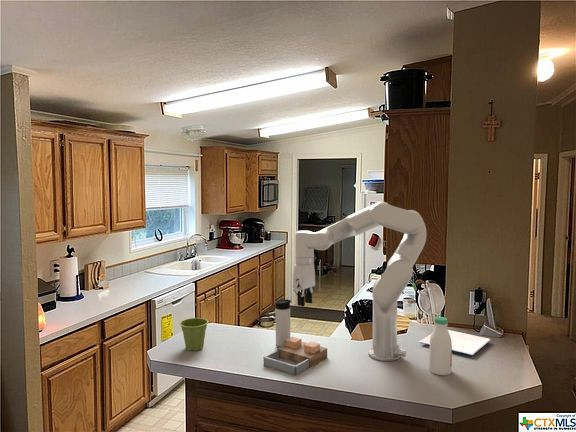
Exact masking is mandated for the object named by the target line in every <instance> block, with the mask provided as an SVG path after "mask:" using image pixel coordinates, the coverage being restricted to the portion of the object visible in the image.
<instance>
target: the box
mask: <svg viewBox="0 0 576 432" xmlns="http://www.w3.org/2000/svg"><path fill="white" fill-rule="evenodd" d="M263 367H265V368H269V369H272V370H276V371H279V372H282V373H285V374H288V375H291V376H294V377H297V376H298V375H300V374H301V373H302V374H303V372H305V371H307V370H308V369H310V368H309V359H307V360H305V361H303V362H301V363H296V362H292V361H289V360H286V359H282V358H279V350H277V349H276V350H275V351H273V352H270V353H268V354H266V355H265V356H263Z"/></svg>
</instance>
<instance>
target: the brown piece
mask: <svg viewBox="0 0 576 432" xmlns="http://www.w3.org/2000/svg"><path fill="white" fill-rule="evenodd" d="M307 343H308V342H304V341H301V346H299V347H297V348H291V347H288V346H286V344H285V345H283V346H281V347H279V348H278V347H276V351H277V350H279V358H282V359H286V360H289V361H292V362H296V363H301V362H303V361H305V360H307V359H309V369H311V368H314V367H315V366H316V365H318V364H320V363H322V362H323V361H324V360H326V359H328V347H324V346H320V350H319V351H318V352H316V353H314V354H313V353H309V352H306V351H304V345H305V344H307Z"/></svg>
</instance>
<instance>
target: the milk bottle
mask: <svg viewBox="0 0 576 432" xmlns="http://www.w3.org/2000/svg"><path fill="white" fill-rule="evenodd" d="M448 323H449V321H448V318H447V317H443V316H435V317H434V329H433V330H432V332H431V337H430V345H429V350H428V352H429V354H428V355H429V358H428V362H429V363H428V369H429V371H430V373H432V374H434V375H437V376H448V375H451V373H452V352H453V351H452V341H451V337H450V334H449V332H448V330H449V329H448Z"/></svg>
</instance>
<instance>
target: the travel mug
mask: <svg viewBox="0 0 576 432" xmlns="http://www.w3.org/2000/svg"><path fill="white" fill-rule="evenodd" d="M291 302H292V300H291V299H279V300H277V301H276V302H275V309H274V310H275V311H274V313H275V347H276V348H279V347H281V346H283V345H285V344H286V340H287V339H289V338H291Z"/></svg>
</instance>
